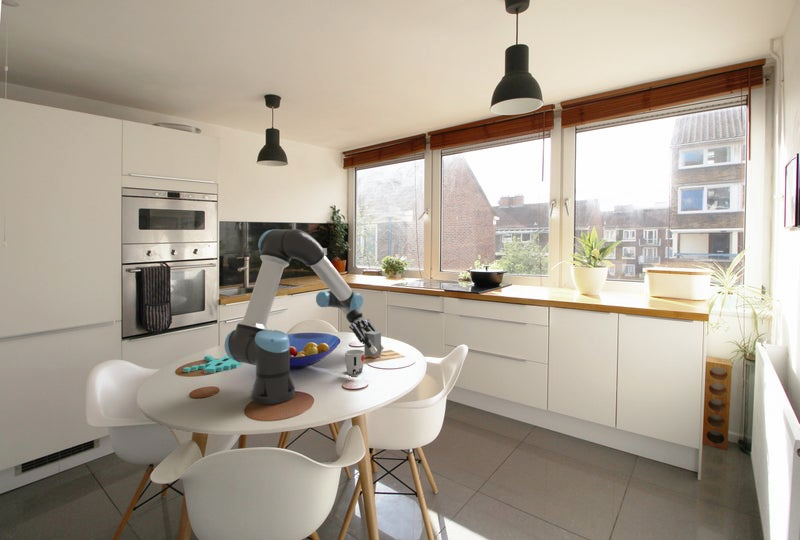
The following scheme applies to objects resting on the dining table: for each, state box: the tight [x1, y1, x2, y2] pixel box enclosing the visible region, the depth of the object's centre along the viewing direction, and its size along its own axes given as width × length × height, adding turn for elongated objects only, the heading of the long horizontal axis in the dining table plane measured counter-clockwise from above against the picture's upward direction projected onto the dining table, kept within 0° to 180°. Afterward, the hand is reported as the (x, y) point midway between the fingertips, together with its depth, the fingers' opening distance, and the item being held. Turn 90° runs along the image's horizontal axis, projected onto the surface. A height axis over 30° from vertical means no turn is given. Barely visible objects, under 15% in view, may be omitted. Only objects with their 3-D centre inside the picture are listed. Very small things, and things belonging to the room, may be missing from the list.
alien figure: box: [182, 354, 243, 374], centre depth 182 cm, size 20×2×20 cm
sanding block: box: [363, 331, 382, 358], centre depth 191 cm, size 6×5×11 cm
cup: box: [344, 349, 365, 378], centre depth 169 cm, size 8×8×10 cm
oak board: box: [363, 349, 406, 365], centre depth 192 cm, size 14×24×2 cm, turn 121°
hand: (379, 351), depth 189 cm, fingers closed on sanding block, 5 cm apart
